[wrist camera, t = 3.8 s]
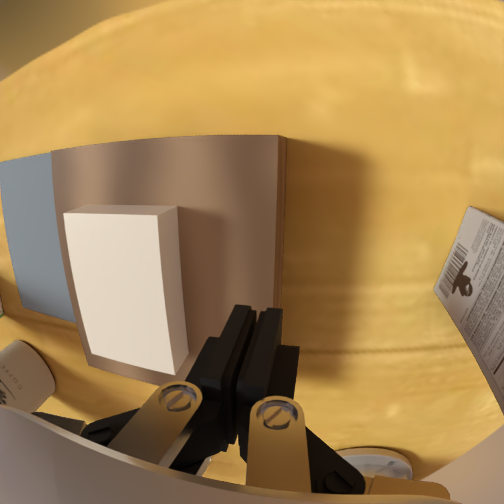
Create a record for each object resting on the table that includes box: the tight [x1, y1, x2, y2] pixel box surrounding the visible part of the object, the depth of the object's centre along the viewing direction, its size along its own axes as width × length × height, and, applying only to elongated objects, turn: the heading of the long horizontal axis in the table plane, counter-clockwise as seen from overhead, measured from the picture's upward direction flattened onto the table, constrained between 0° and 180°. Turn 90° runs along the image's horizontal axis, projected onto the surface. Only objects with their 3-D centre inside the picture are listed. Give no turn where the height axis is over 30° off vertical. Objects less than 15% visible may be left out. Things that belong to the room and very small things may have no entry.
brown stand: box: [51, 135, 287, 386], centre depth 20 cm, size 14×16×4 cm
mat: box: [0, 153, 76, 323], centre depth 24 cm, size 12×15×1 cm
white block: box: [63, 205, 189, 375], centre depth 17 cm, size 6×9×2 cm, turn 179°
